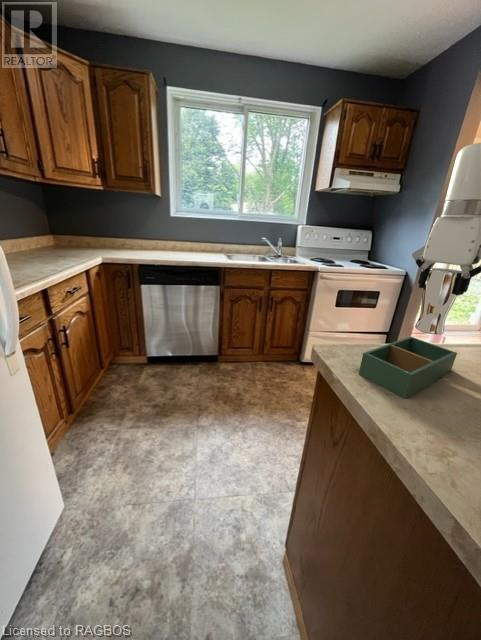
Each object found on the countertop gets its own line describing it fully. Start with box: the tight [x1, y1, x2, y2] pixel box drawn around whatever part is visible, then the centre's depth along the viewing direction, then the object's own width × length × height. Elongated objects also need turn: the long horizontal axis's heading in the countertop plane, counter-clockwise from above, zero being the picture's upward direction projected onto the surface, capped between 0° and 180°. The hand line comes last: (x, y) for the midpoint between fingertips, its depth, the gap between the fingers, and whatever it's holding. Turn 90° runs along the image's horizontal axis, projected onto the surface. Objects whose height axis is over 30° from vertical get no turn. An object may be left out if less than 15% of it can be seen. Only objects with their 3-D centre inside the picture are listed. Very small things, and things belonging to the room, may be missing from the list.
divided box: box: [358, 336, 458, 400], centre depth 69 cm, size 22×12×6 cm, turn 122°
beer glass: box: [414, 267, 463, 336], centre depth 66 cm, size 7×7×15 cm
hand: (440, 290), depth 65 cm, fingers closed on beer glass, 7 cm apart
